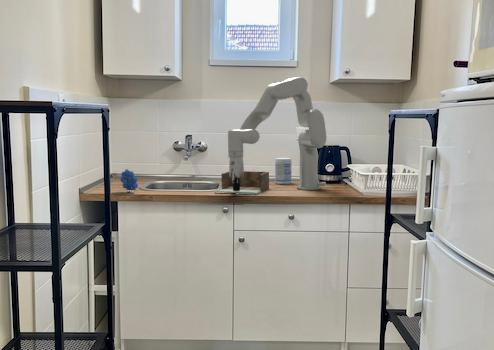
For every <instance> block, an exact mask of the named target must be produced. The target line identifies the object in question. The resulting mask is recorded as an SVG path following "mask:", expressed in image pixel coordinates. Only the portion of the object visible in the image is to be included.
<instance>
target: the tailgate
mask: <svg viewBox="0 0 494 350" xmlns="http://www.w3.org/2000/svg"><path fill="white" fill-rule="evenodd" d="M215 192H224V193H225V192H226V193H238V194H237V195H244V194H247V195H252V196H257V195H259V194H262V192H261V191H259V190H240V191H233V190H232V189H222V188H220V189H218V190H217V189H216V190H215V191H214V193H215Z"/></svg>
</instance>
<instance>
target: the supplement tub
mask: <svg viewBox="0 0 494 350" xmlns="http://www.w3.org/2000/svg"><path fill="white" fill-rule="evenodd" d="M274 163H275V164H274V165H275V166H274V167H275V168H274V178H275V179H274V182H275V184H277V185H290V184H291V183H292V158H289V157H276V158H275V162H274Z"/></svg>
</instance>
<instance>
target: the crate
mask: <svg viewBox="0 0 494 350" xmlns="http://www.w3.org/2000/svg"><path fill="white" fill-rule="evenodd" d="M221 189H232V190H233V180H232V177H230V175H229V171H226V172H222V173H221ZM268 189H270V172H269V171H255V170H254V171H249V170H248V171H247V170H246V171H245V170H244V175H243V176H242V177H241V178H240V190H259V191H261V193H263V192H265V191H267V190H268Z"/></svg>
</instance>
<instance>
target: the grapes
mask: <svg viewBox="0 0 494 350" xmlns="http://www.w3.org/2000/svg"><path fill="white" fill-rule="evenodd" d="M120 174H121V177H120V182H121V183H122V188H123V189H125V190H126V191H127V190H136V191H137V188H138V187H139V184H138V183H137V182H138V180H139V179H138V177H137V176H135V172H134V171H132V170H131V171H130V169H126V168H125V170H124V171H122V172H121V173H120Z"/></svg>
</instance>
